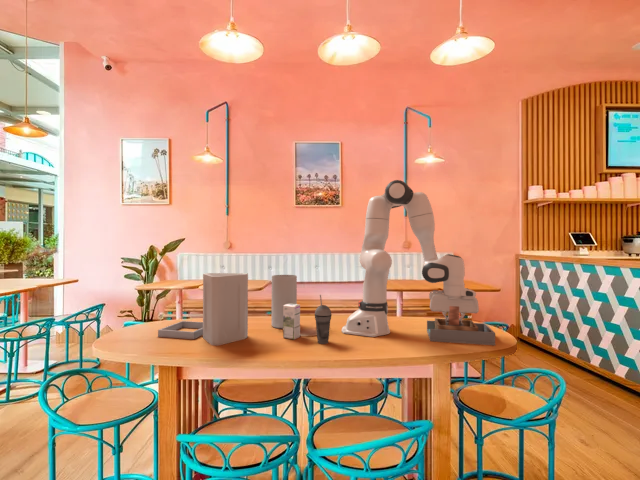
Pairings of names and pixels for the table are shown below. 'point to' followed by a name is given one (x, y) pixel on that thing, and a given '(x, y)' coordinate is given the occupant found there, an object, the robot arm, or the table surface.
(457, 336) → the tray
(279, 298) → the cylinder vase
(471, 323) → the crate
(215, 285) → the paper bag
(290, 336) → the syrup box
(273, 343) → the table surface
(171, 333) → the gray square frame
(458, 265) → the robot arm
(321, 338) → the beverage cup
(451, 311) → the reddish brown block
